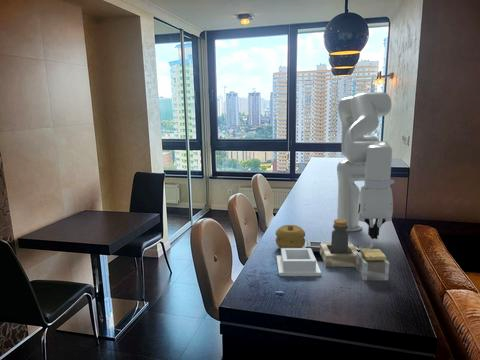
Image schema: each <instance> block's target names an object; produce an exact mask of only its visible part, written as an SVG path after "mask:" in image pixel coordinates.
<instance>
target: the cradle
mask: <svg viewBox="0 0 480 360" xmlns="http://www.w3.org/2000/svg"><path fill="white" fill-rule="evenodd" d="M276 264H277V270H278V277H321V276H322V271H321V269H320V266H319V264H318V261H317V258H316V257H315V255H314V252H313V249H312V248H311V247H302V248H281V249H280V255H278V254H277V255H276Z"/></svg>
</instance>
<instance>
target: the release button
mask: <svg viewBox="0 0 480 360" xmlns="http://www.w3.org/2000/svg"><path fill="white" fill-rule="evenodd" d="M360 252H361V254H362V255H363V257H364V259H365V260H366V261H367V262H383V260H387V256H386V255H385V254H384V252H383V251H382V250H381V249H380V248H372V249H360Z"/></svg>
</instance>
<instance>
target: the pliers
mask: <svg viewBox="0 0 480 360" xmlns="http://www.w3.org/2000/svg"><path fill="white" fill-rule="evenodd" d="M348 242H349V243H351V241H350V239H348ZM359 249H374V243H373V242H372V241H370V244H369V245H365V246H363V247H360V246H359ZM358 253H361V252H358Z"/></svg>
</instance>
